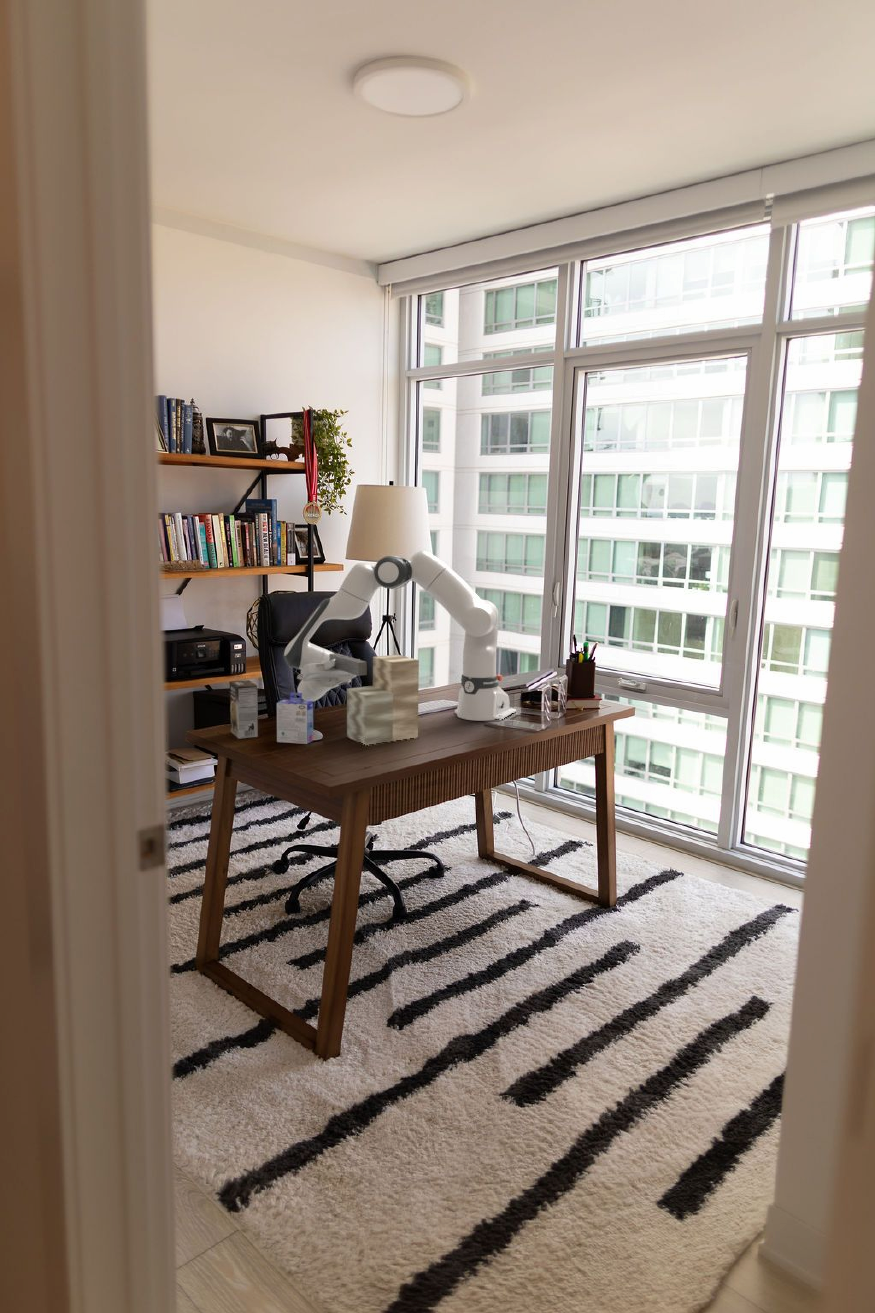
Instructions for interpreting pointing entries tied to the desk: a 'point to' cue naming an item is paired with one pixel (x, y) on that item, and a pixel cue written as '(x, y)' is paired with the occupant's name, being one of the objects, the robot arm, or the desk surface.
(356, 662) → the bar
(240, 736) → the coffee box
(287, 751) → the desk surface
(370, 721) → the stepped stand
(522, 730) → the desk surface
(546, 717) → the desk surface
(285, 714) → the ink cartridge box
